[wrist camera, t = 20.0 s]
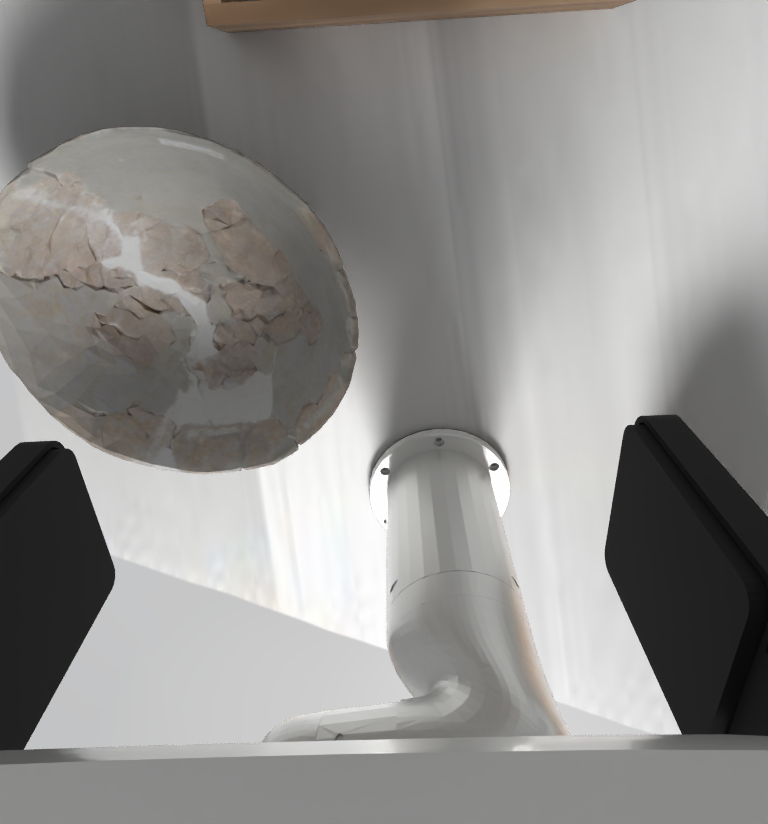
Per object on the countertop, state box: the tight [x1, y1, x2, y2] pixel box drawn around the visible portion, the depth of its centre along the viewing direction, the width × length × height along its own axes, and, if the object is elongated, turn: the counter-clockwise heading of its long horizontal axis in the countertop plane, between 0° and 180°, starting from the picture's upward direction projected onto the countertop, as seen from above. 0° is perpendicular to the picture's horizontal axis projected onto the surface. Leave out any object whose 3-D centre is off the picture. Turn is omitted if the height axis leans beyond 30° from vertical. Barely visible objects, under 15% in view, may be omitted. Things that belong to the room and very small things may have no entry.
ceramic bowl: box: [0, 127, 359, 474], centre depth 41 cm, size 22×23×10 cm
